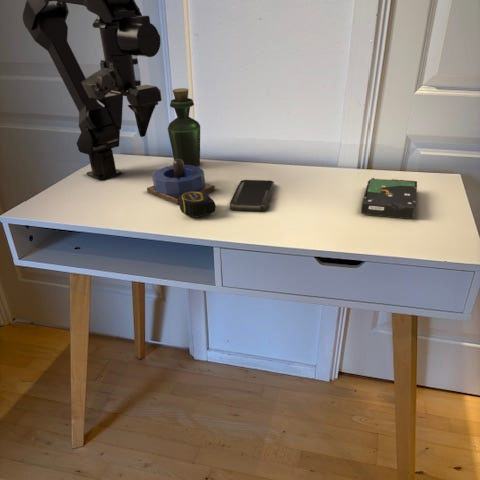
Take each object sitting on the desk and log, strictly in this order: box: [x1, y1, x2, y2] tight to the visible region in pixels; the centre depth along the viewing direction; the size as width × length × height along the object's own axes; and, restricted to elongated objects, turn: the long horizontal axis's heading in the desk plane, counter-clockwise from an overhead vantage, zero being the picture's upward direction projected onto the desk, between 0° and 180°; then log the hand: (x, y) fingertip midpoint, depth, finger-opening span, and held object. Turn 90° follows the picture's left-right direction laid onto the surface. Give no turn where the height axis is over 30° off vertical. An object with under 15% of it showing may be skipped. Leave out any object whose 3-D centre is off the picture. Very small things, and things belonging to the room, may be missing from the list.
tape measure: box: [178, 191, 217, 218], centre depth 101 cm, size 7×7×4 cm
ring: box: [151, 165, 206, 195], centre depth 111 cm, size 11×11×3 cm
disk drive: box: [360, 177, 418, 219], centre depth 102 cm, size 10×3×15 cm
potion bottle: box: [167, 87, 201, 167], centre depth 122 cm, size 8×8×18 cm
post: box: [146, 159, 216, 206], centre depth 110 cm, size 11×11×8 cm
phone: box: [229, 179, 275, 212], centre depth 108 cm, size 8×1×15 cm
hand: (130, 133), depth 109 cm, fingers open, 9 cm apart
